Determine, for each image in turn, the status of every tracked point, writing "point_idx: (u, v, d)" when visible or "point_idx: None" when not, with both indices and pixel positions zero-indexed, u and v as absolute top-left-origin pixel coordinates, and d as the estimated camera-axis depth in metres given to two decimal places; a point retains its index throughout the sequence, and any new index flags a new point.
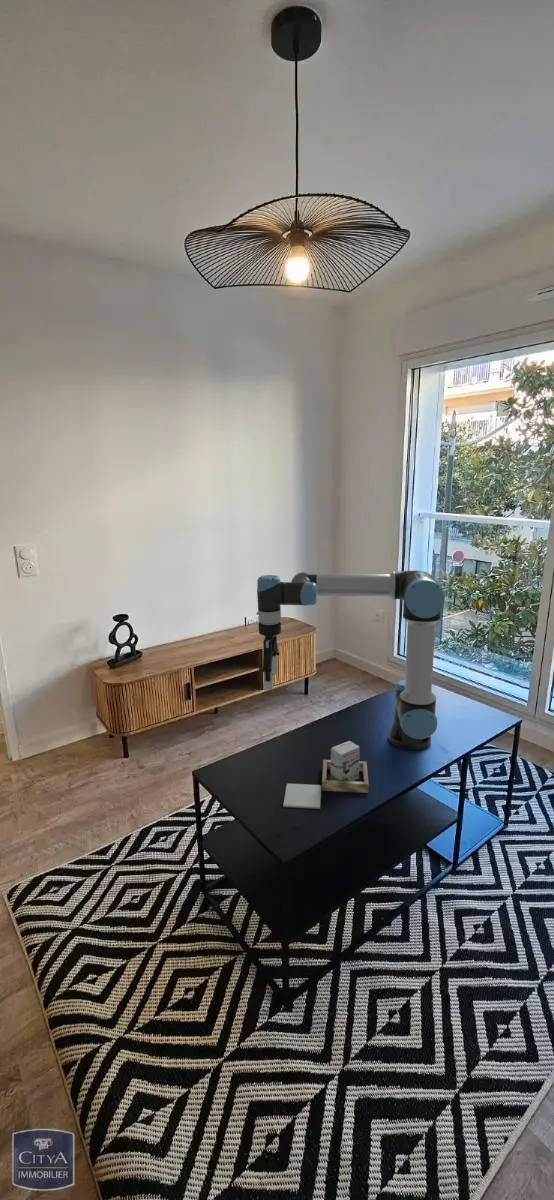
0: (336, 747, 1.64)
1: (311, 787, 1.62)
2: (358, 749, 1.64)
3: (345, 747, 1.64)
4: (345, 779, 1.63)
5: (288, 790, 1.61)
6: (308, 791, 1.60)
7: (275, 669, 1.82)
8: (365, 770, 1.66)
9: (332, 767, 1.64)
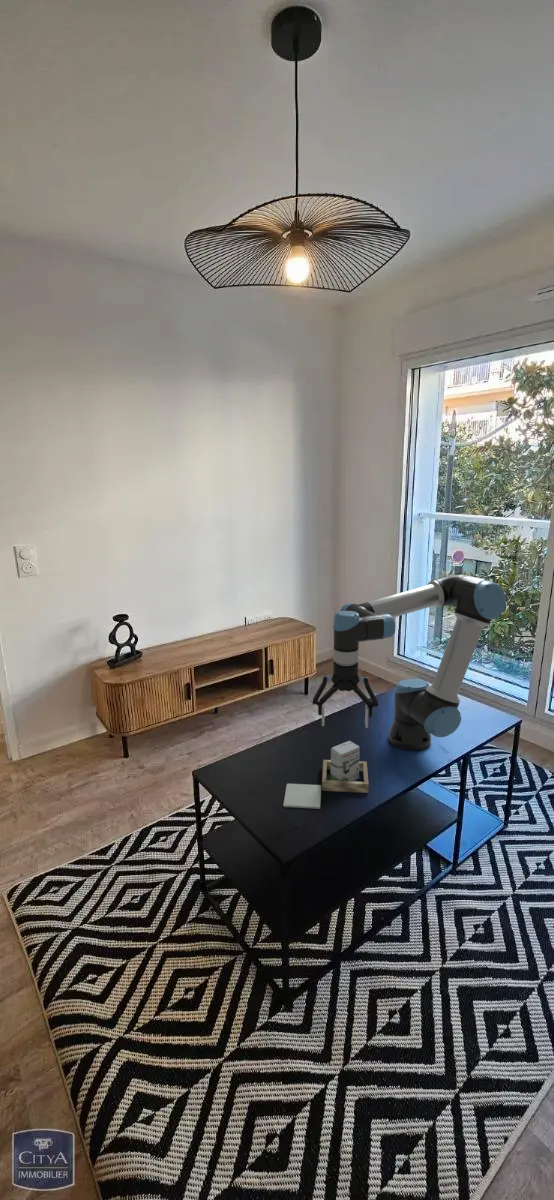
0: (336, 747, 1.64)
1: (311, 787, 1.62)
2: (358, 749, 1.64)
3: (345, 747, 1.64)
4: (345, 779, 1.63)
5: (288, 790, 1.61)
6: (308, 791, 1.60)
7: (365, 722, 1.60)
8: (365, 770, 1.66)
9: (332, 767, 1.64)
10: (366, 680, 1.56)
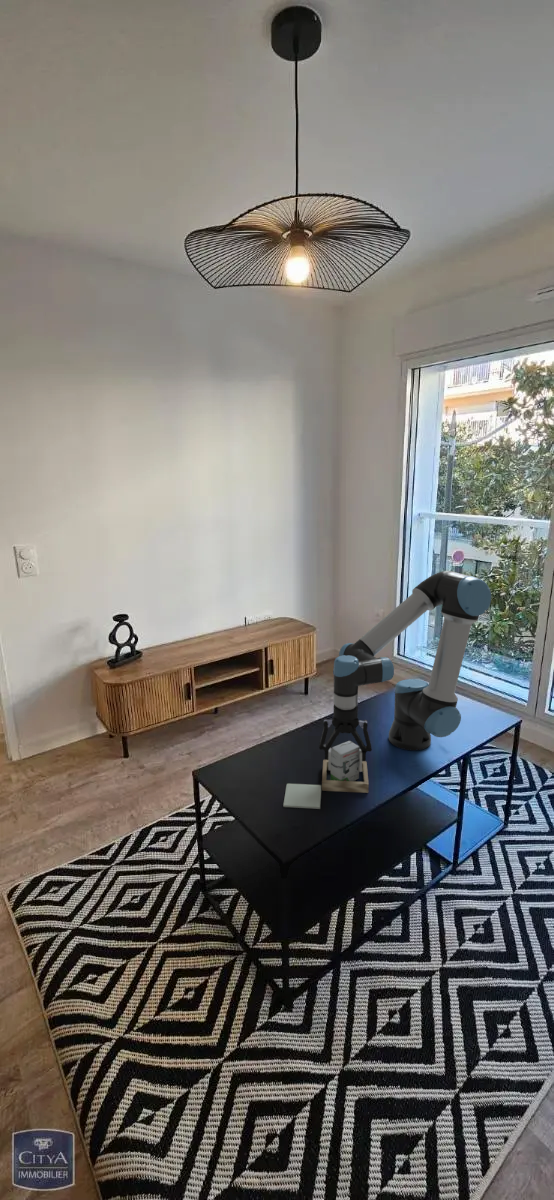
0: (336, 747, 1.64)
1: (311, 787, 1.62)
2: (358, 749, 1.64)
3: (345, 747, 1.64)
4: (345, 779, 1.63)
5: (288, 790, 1.61)
6: (308, 791, 1.60)
7: (359, 766, 1.64)
8: (365, 770, 1.66)
9: (332, 767, 1.64)
10: (365, 725, 1.60)
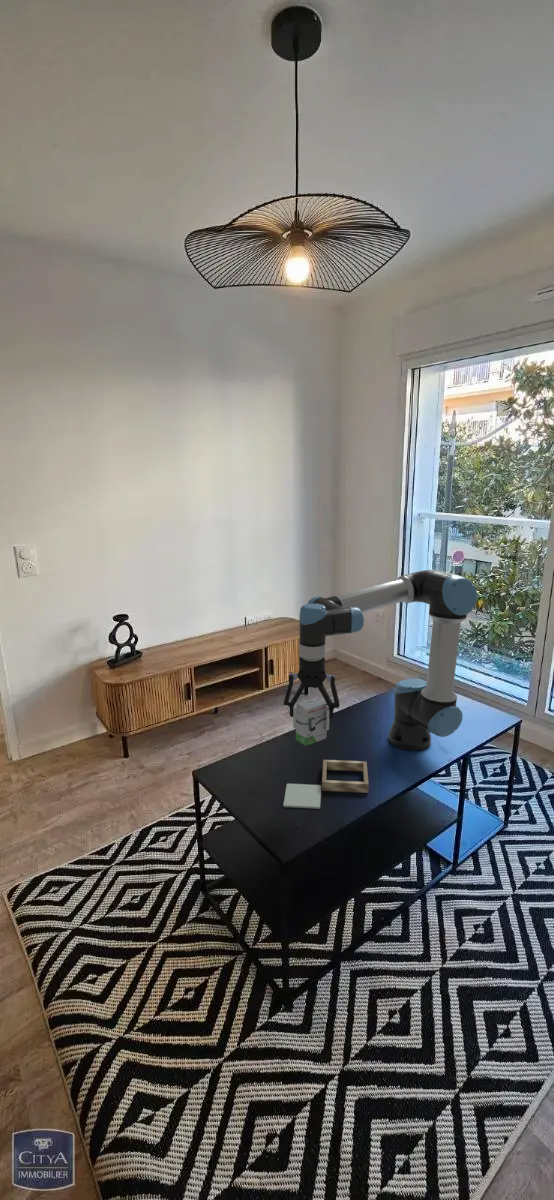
0: (302, 703, 1.53)
1: (311, 787, 1.62)
2: (325, 706, 1.54)
3: (311, 703, 1.53)
4: (311, 737, 1.52)
5: (288, 790, 1.61)
6: (308, 791, 1.60)
7: None
8: (365, 770, 1.66)
9: (298, 724, 1.53)
10: (333, 679, 1.49)
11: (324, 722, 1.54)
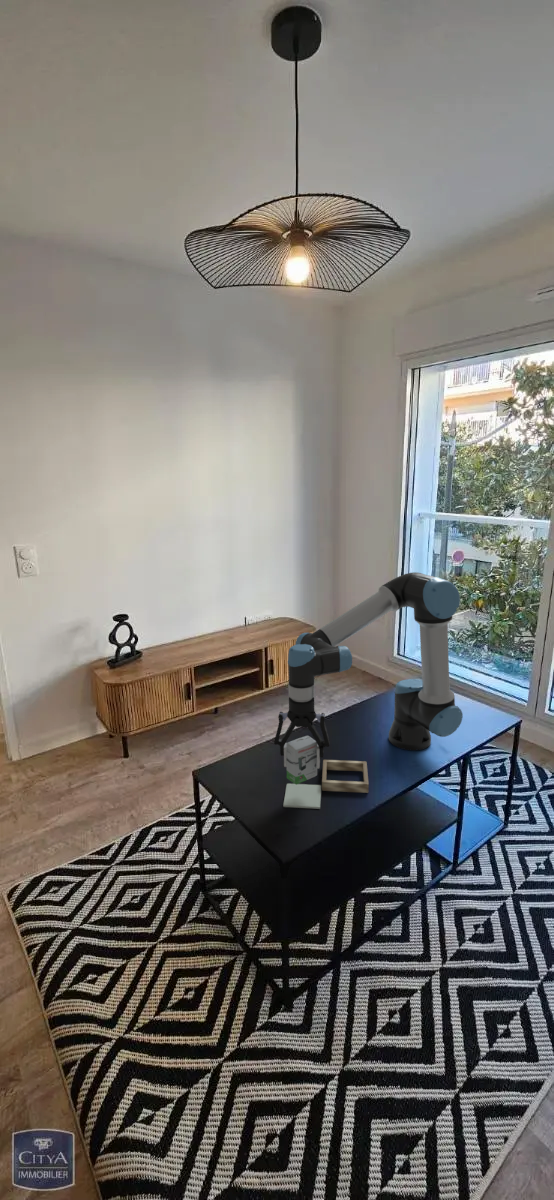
0: (292, 742, 1.54)
1: (311, 787, 1.62)
2: (316, 744, 1.54)
3: (302, 742, 1.54)
4: (301, 776, 1.53)
5: (288, 790, 1.61)
6: (308, 791, 1.60)
7: (317, 762, 1.54)
8: (365, 770, 1.66)
9: (288, 763, 1.54)
10: (322, 719, 1.50)
11: (314, 760, 1.55)
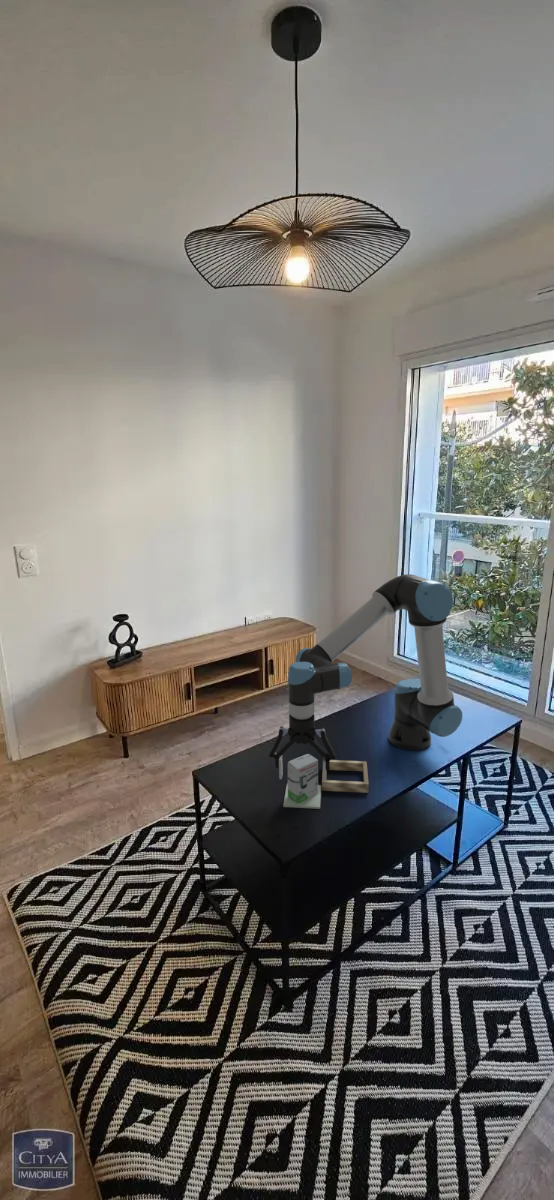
0: (293, 761, 1.55)
1: None
2: (316, 763, 1.56)
3: (303, 761, 1.56)
4: (302, 794, 1.55)
5: None
6: None
7: (323, 775, 1.55)
8: (365, 770, 1.66)
9: (289, 782, 1.56)
10: (323, 733, 1.51)
11: (315, 778, 1.57)
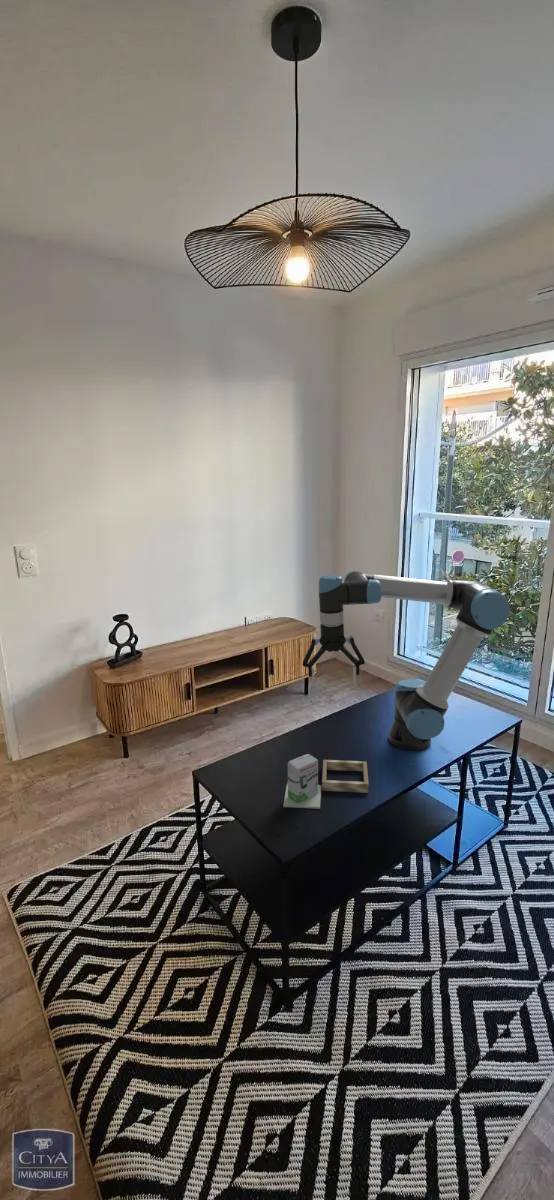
0: (293, 761, 1.55)
1: None
2: (316, 763, 1.56)
3: (303, 761, 1.56)
4: (302, 794, 1.55)
5: None
6: None
7: (353, 680, 1.68)
8: (365, 770, 1.66)
9: (289, 782, 1.56)
10: (352, 639, 1.65)
11: (315, 778, 1.57)
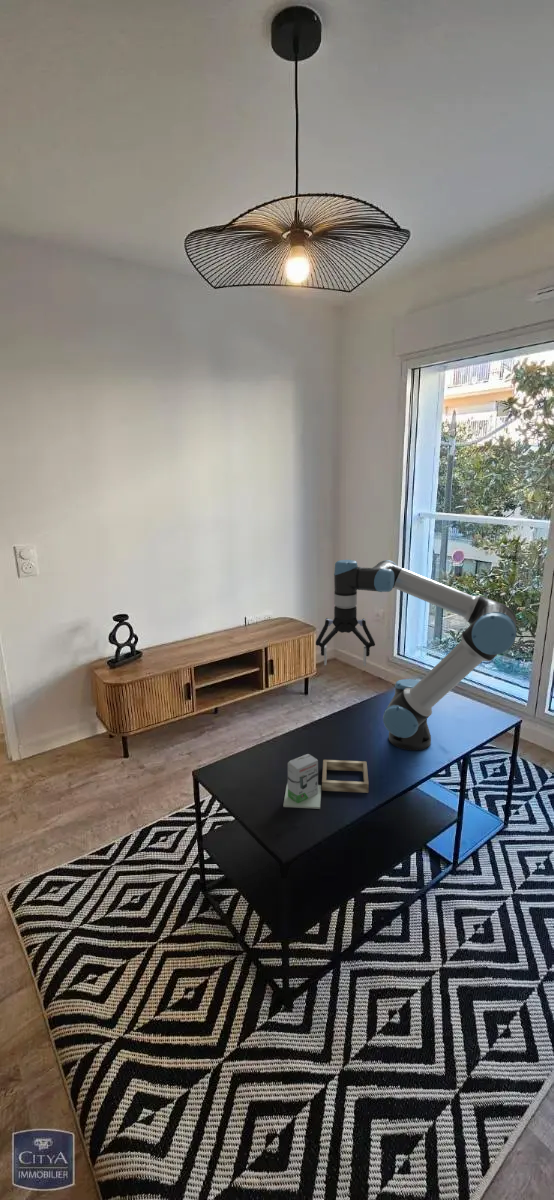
0: (293, 761, 1.55)
1: None
2: (316, 763, 1.56)
3: (303, 761, 1.56)
4: (302, 794, 1.55)
5: None
6: None
7: (363, 661, 1.77)
8: (365, 770, 1.66)
9: (289, 782, 1.56)
10: (364, 622, 1.73)
11: (315, 778, 1.57)
